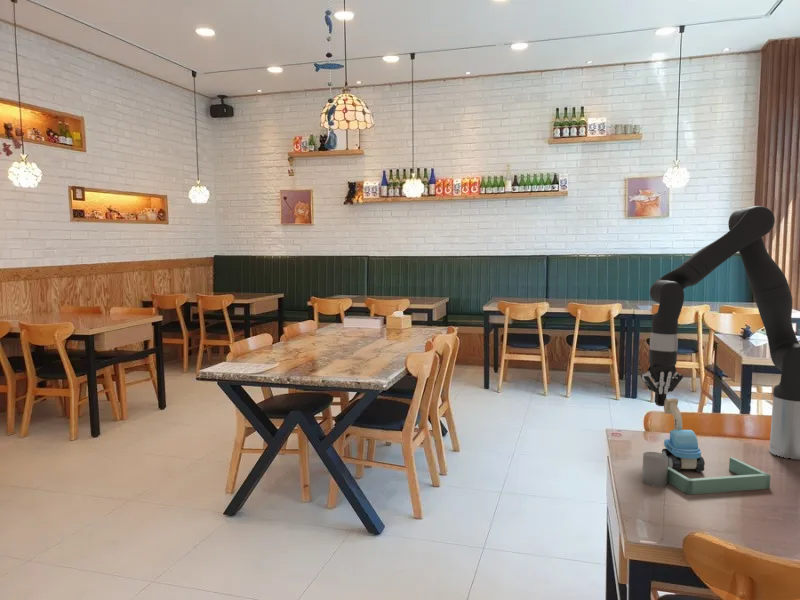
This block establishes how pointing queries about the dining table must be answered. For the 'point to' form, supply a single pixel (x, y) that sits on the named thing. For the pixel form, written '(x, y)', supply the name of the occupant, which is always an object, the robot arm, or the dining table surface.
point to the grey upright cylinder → (655, 469)
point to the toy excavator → (681, 442)
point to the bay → (722, 480)
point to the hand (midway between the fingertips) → (659, 405)
